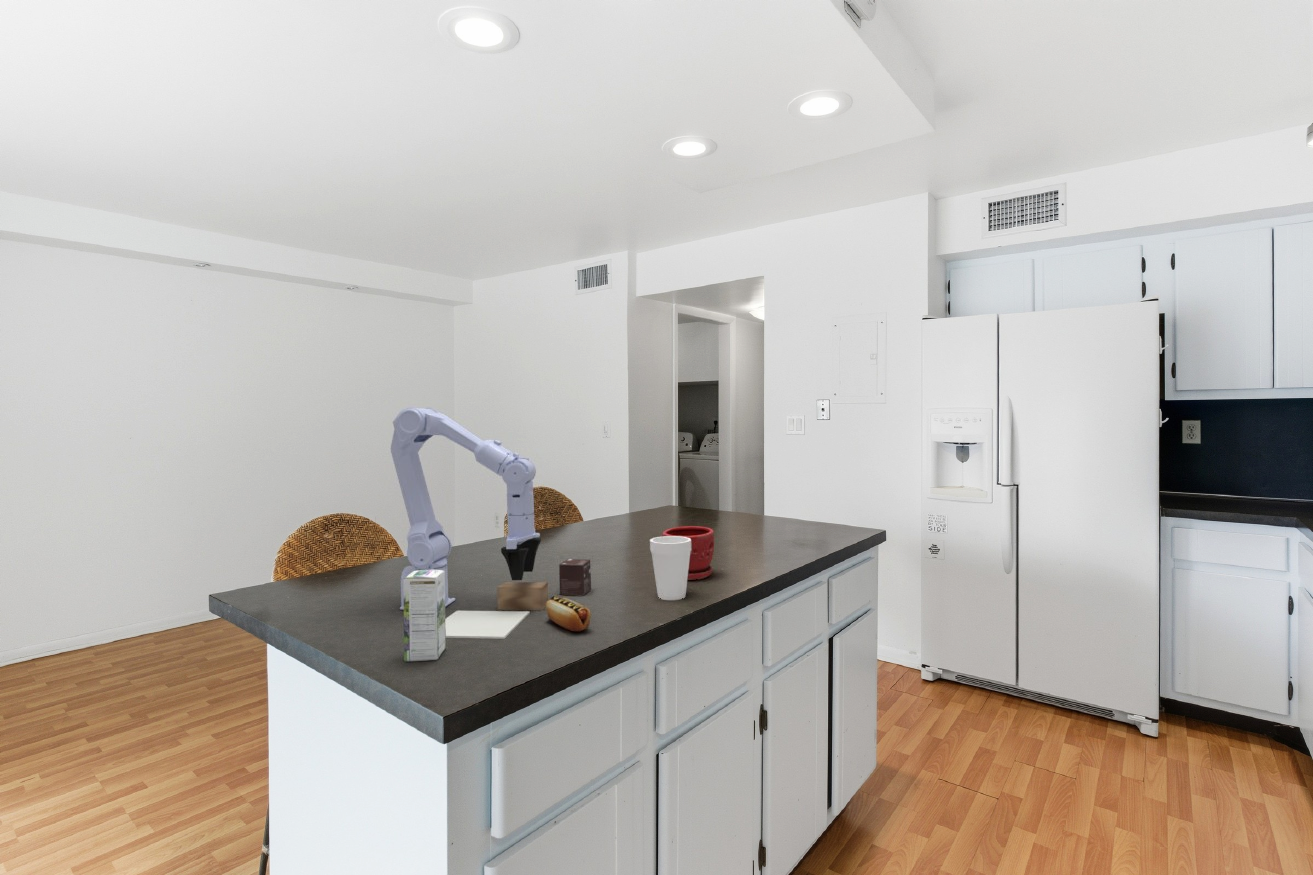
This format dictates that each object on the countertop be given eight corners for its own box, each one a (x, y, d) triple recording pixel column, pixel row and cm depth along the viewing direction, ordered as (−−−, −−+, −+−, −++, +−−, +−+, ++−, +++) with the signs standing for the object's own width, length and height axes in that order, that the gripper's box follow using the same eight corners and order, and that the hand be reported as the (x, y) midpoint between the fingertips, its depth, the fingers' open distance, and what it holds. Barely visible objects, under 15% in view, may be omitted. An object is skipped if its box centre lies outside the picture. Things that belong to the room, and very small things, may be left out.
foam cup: (669, 604, 142) (668, 545, 142) (642, 596, 149) (641, 540, 149) (700, 596, 148) (699, 539, 148) (673, 588, 155) (672, 534, 155)
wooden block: (497, 610, 141) (497, 587, 141) (504, 604, 146) (504, 582, 146) (542, 610, 140) (542, 587, 140) (548, 604, 145) (547, 582, 145)
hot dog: (571, 638, 122) (571, 611, 122) (540, 621, 133) (540, 596, 133) (595, 632, 125) (594, 606, 125) (562, 616, 136) (561, 592, 135)
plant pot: (666, 570, 175) (665, 525, 174) (715, 570, 173) (715, 525, 172) (660, 582, 162) (659, 534, 161) (713, 583, 160) (712, 534, 160)
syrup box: (413, 650, 117) (411, 569, 116) (447, 648, 117) (445, 568, 117) (403, 662, 111) (401, 577, 111) (439, 660, 111) (437, 576, 111)
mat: (422, 637, 123) (422, 635, 123) (456, 612, 139) (456, 610, 139) (504, 638, 122) (504, 636, 122) (529, 613, 138) (529, 611, 138)
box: (583, 596, 150) (583, 564, 150) (559, 595, 152) (558, 564, 151) (591, 589, 156) (591, 559, 156) (567, 588, 158) (567, 558, 157)
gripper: (528, 518, 135) (530, 583, 135) (547, 509, 149) (549, 567, 150) (495, 519, 136) (497, 583, 136) (517, 509, 150) (519, 567, 150)
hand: (522, 575), depth 143 cm, fingers open, 7 cm apart
